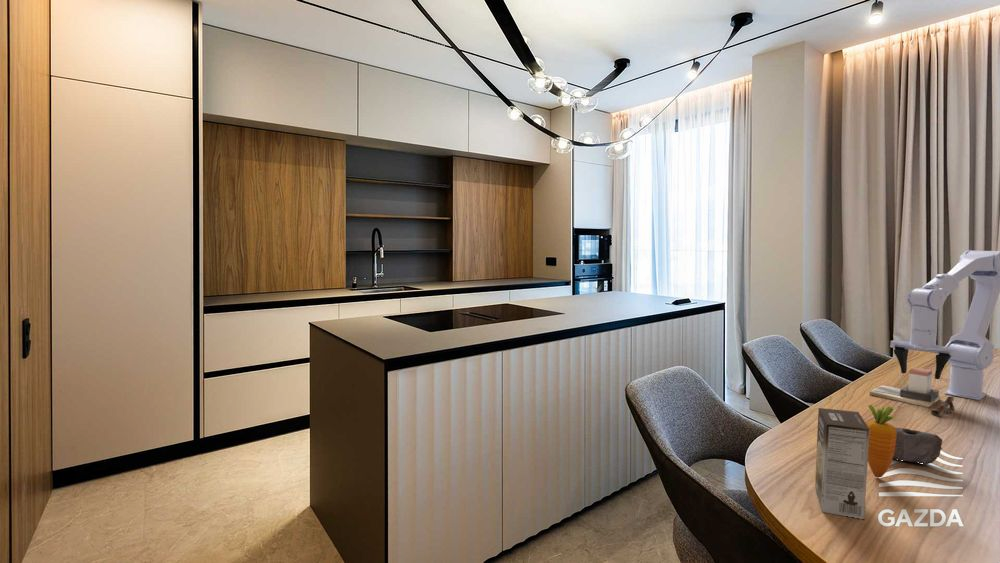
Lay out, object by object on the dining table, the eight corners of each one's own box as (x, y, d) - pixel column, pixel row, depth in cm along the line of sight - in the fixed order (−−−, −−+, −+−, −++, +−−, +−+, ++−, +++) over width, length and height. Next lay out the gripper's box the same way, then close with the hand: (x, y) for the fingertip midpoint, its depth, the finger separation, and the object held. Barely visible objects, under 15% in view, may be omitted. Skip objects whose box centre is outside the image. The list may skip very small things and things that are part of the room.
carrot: (855, 473, 100) (859, 400, 98) (878, 471, 100) (882, 400, 99) (876, 485, 95) (881, 409, 94) (900, 483, 95) (905, 408, 94)
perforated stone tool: (849, 451, 110) (851, 421, 109) (854, 444, 114) (856, 415, 113) (939, 473, 99) (941, 440, 99) (941, 465, 103) (943, 433, 103)
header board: (881, 388, 156) (882, 379, 156) (939, 399, 145) (940, 389, 145) (869, 394, 150) (870, 385, 149) (929, 407, 138) (929, 396, 138)
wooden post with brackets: (959, 409, 134) (956, 395, 133) (941, 424, 132) (938, 410, 131) (951, 407, 136) (948, 393, 135) (933, 422, 133) (930, 408, 132)
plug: (913, 393, 147) (914, 367, 147) (930, 396, 144) (932, 370, 144) (907, 396, 144) (909, 370, 144) (925, 400, 141) (927, 373, 141)
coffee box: (813, 488, 94) (817, 406, 92) (853, 495, 91) (858, 411, 90) (821, 512, 85) (826, 422, 84) (866, 521, 83) (871, 428, 81)
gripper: (888, 327, 146) (885, 372, 147) (953, 335, 135) (949, 383, 136) (895, 325, 150) (893, 368, 151) (959, 332, 139) (956, 379, 140)
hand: (920, 375), depth 144 cm, fingers open, 7 cm apart
